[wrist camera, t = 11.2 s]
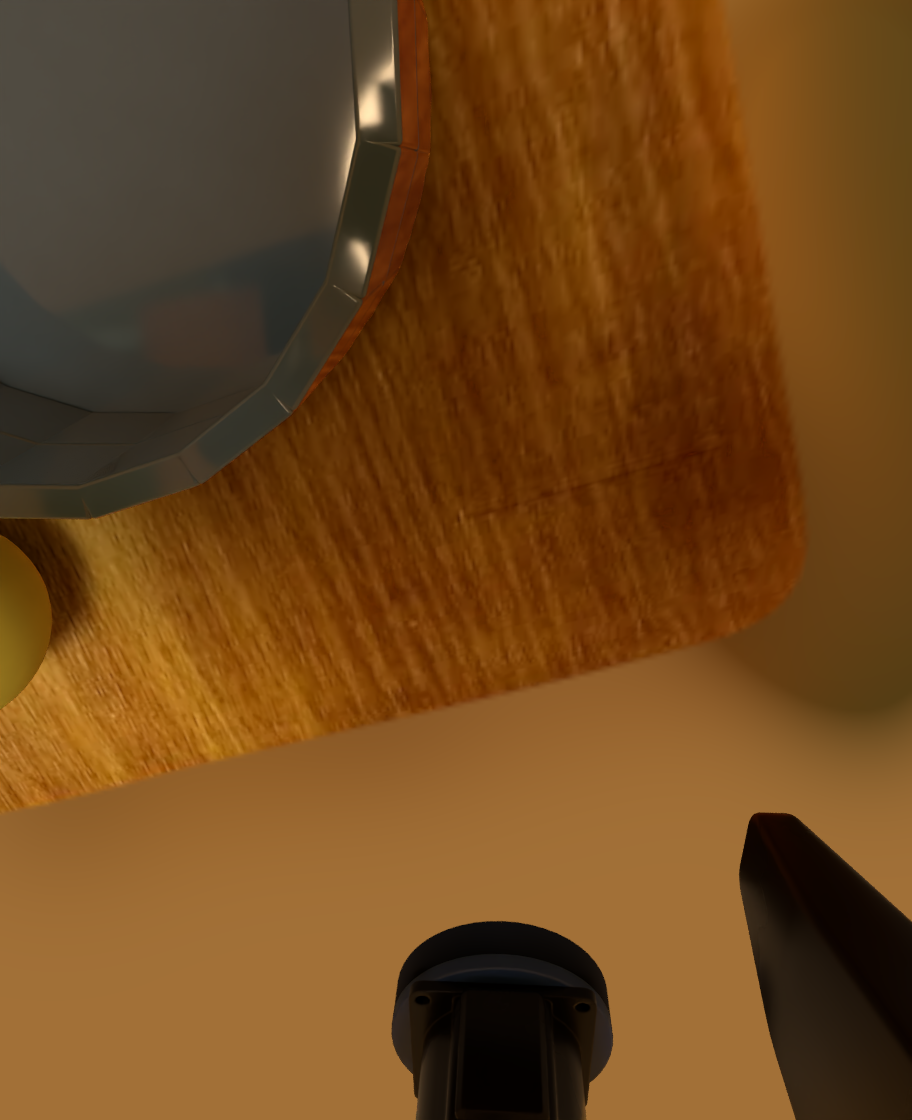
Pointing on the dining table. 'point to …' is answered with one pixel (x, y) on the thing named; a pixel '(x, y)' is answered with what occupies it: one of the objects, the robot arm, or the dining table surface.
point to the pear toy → (21, 620)
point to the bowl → (190, 228)
